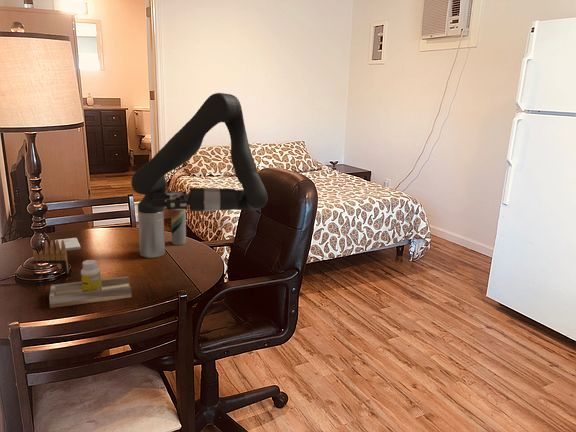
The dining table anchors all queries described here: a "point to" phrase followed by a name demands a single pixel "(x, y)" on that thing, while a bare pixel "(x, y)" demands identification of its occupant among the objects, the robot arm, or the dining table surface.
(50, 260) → the ammunition clip
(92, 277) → the supplement bottle
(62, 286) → the track
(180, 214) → the lotion bottle
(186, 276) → the dining table surface
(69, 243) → the external hard drive
